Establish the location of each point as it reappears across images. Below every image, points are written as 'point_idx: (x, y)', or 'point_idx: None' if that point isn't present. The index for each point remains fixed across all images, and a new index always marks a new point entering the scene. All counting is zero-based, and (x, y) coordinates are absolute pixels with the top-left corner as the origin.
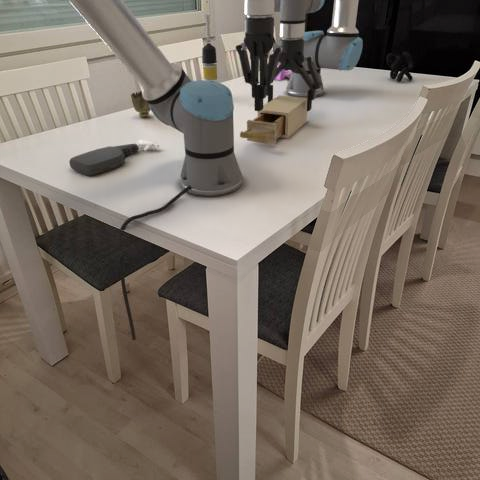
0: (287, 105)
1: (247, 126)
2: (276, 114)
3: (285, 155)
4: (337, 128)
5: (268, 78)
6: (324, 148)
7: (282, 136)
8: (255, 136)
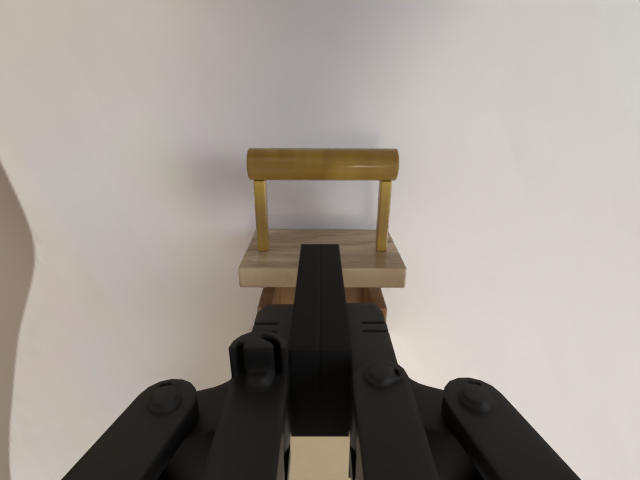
0: None
1: (397, 255)
2: None
3: (178, 162)
4: None
5: (132, 450)
6: (84, 290)
7: None
8: (305, 149)
